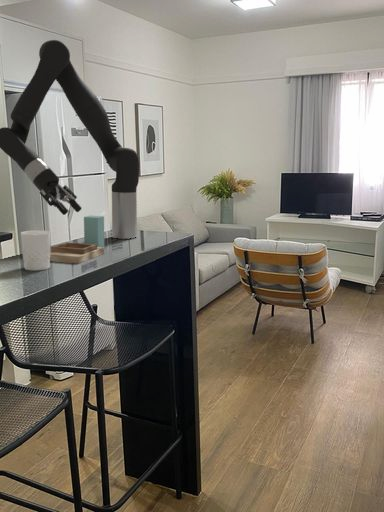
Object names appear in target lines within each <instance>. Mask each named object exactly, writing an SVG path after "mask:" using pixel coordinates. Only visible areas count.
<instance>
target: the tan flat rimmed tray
mask: <svg viewBox="0 0 384 512" xmlns="http://www.w3.org/2000/svg"><path fill="white" fill-rule="evenodd" d="M104 248H105V246H104V247H97V245H95V244H85V243H83V242H82V243H81V242H80V243H79V242H62V243H59V244H56V245H53V246H50V262H57V263H66V264H67V263H68V264H69V263H70V264H77V265H78V264H82V263H85V262H86V261H89V260H92V259H94V258H97V257H99V256H102V255H104V254H105V249H104Z"/></svg>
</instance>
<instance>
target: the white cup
mask: <svg viewBox="0 0 384 512" xmlns="http://www.w3.org/2000/svg"><path fill="white" fill-rule="evenodd" d="M51 235H52V234H51V231H49V230H43V229H41V230H38V229H37V230H36V229H35V230H25V231H21V232H20V241H21V242H20V243H21V244H20V245H21V251H22V252H21V253H22V260H23V266H24V267H23V268H24V269H25V270H26V271H45V270H48V269H49V268H50V267H51V261H50V251H51Z"/></svg>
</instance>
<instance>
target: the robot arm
mask: <svg viewBox="0 0 384 512" xmlns="http://www.w3.org/2000/svg"><path fill="white" fill-rule="evenodd" d="M38 56H39V61H38V65H37V67H36V70H35V72H34V73H33V76H32V78H30V79H31V80H30V81H29V83H28V84H27V85H26V86H25V89H24V90H23V91H22V92H21V94H20V96H19V97H18V100H17V102H16V103H15V105H14V107H13V108H12V111H11V113H10V119H11V121H12V123H11V126H10V127H8V126H7V127H4V126H3V127H1V128H0V150H2V151H3V152H4V153H5V154H6V155H7V156H8V157H9V158H10V159H11V160H13V161H14V163H16V164H17V166H18V167H19V168H20V169H21V170H22V171H23V173H24V174H25V175H26V177H27V178H28V180H30V182H32V184H33V185H34V186H35V187H36V188H37V190H39V194H40V196H41V197H42V198H43V199H44V200H45V202H46V203H47V204H48V205H49V206H50V207H55V208H57V210H58V211H59V212H60V213H61V214H62V215H64V216H65V215H67V214H68V212H69V209H68V208H67V207H66V206H65V205H64V204H63V203H65V202H66V203H67V204H69V205H70V207H71V208H72V209H73V210H74V211H75V212H76V213H79V212H80V211H81V210H82V208H83V207H82V206H81V205H80V204H79V203H78V202H77V200H76V199H77V198H78V197H77V195H76V194H75V193H74V192H73V191H72V190H71V189H70V188H69V187H68V185H66V184H65V185H64V186H62V185H60V183H59V181H60V178H59V176H58V175H57V174H56V173H55V172H54V170H52V169H51V168H50V166H48V164H47V163H46V162H45V161H44V160H42V158H41V156H40V155H38V154H37V153H36V151H34V150H33V149H32V148H31V147H29V146H28V145H26V143H27V140H28V137H29V133H30V129H31V125H32V123H33V122H34V120H35V118H36V116H37V114H38V112H39V110H40V108H41V106H42V104H43V102H44V100H45V98H46V96H47V94H48V92H49V90H50V89H51V87H52V86H53V84H54V83H55V82H57V83H58V85H59V86H60V88H61V89H62V91H63V93H64V96H66V98H67V100H68V102H69V103H70V105H71V107H72V109H73V110H74V113H75V114H76V115H77V117H78V118H79V120H80V121H81V123H82V124H83V126H84V127H85V129H86V130H87V132H88V133H89V134H90V136H91V138H92V139H93V140H94V142H95V143H96V144H97V145H98V148H99V150H100V151H101V153H102V155H103V157H104V159H105V161H106V163H107V165H108V166H109V168H110V169H111V170H112V171H114V172H115V180H114V182H113V183H112V184H111V225H112V226H111V232H112V233H111V234H112V237H111V238H113V239H117V238H118V239H119V240H129V239H130V238H131V239H136V238H137V237H136V236H137V233H138V231H137V230H138V229H137V223H138V221H137V220H138V218H137V216H138V215H137V204H138V203H137V202H138V201H137V198H138V197H137V195H138V194H137V191H138V189H137V188H138V184H139V181H140V180H139V179H140V158H139V155H138V153H137V152H136V150H134V149H132V148H129V147H123V146H122V145H121V143H120V142H119V140H118V139H117V138H116V137H115V134H114V133H113V130H112V128H111V122H110V119H109V116H108V113H107V111H106V109H105V108H104V106H103V104H102V102H100V101H101V100H99V98H98V97H97V96H96V94H95V93H94V91H92V88H91V87H90V86H88V84H87V83H86V82H85V81H84V79H82V78H81V76H80V75H79V74H78V72H77V71H76V69H75V67H74V65H73V63H72V61H71V52H70V49H69V48H68V46H67V45H66V44H65V43H64V42H63V41H61V40H57V39H50V40H47V41H45V42H43V43H42V45H40V48H39V52H38ZM61 201H62V202H61ZM135 237H136V238H135ZM118 239H117V240H118Z"/></svg>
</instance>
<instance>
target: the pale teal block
mask: <svg viewBox="0 0 384 512" xmlns="http://www.w3.org/2000/svg"><path fill="white" fill-rule="evenodd" d="M83 234H84V235H83V238H84V239H83V240H84V242H83V244H95V245H97V247H104V250H105V216H104V215H86V216H84V217H83Z"/></svg>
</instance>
